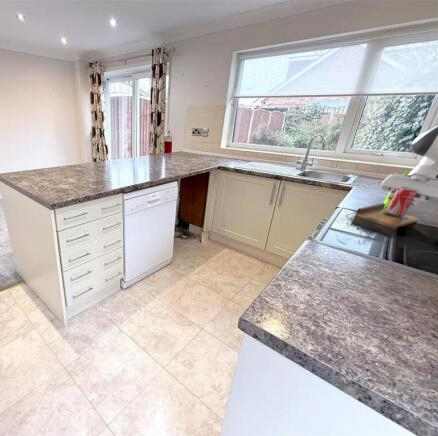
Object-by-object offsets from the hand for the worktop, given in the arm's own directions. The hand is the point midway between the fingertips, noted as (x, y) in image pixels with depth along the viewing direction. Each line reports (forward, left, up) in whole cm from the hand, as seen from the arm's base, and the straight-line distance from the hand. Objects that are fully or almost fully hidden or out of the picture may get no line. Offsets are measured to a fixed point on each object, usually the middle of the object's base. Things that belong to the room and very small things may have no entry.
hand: (400, 201), depth 105 cm
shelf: (+1, +3, -11) cm, 12 cm away
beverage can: (0, -1, -6) cm, 7 cm away
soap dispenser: (+12, -34, -12) cm, 38 cm away
